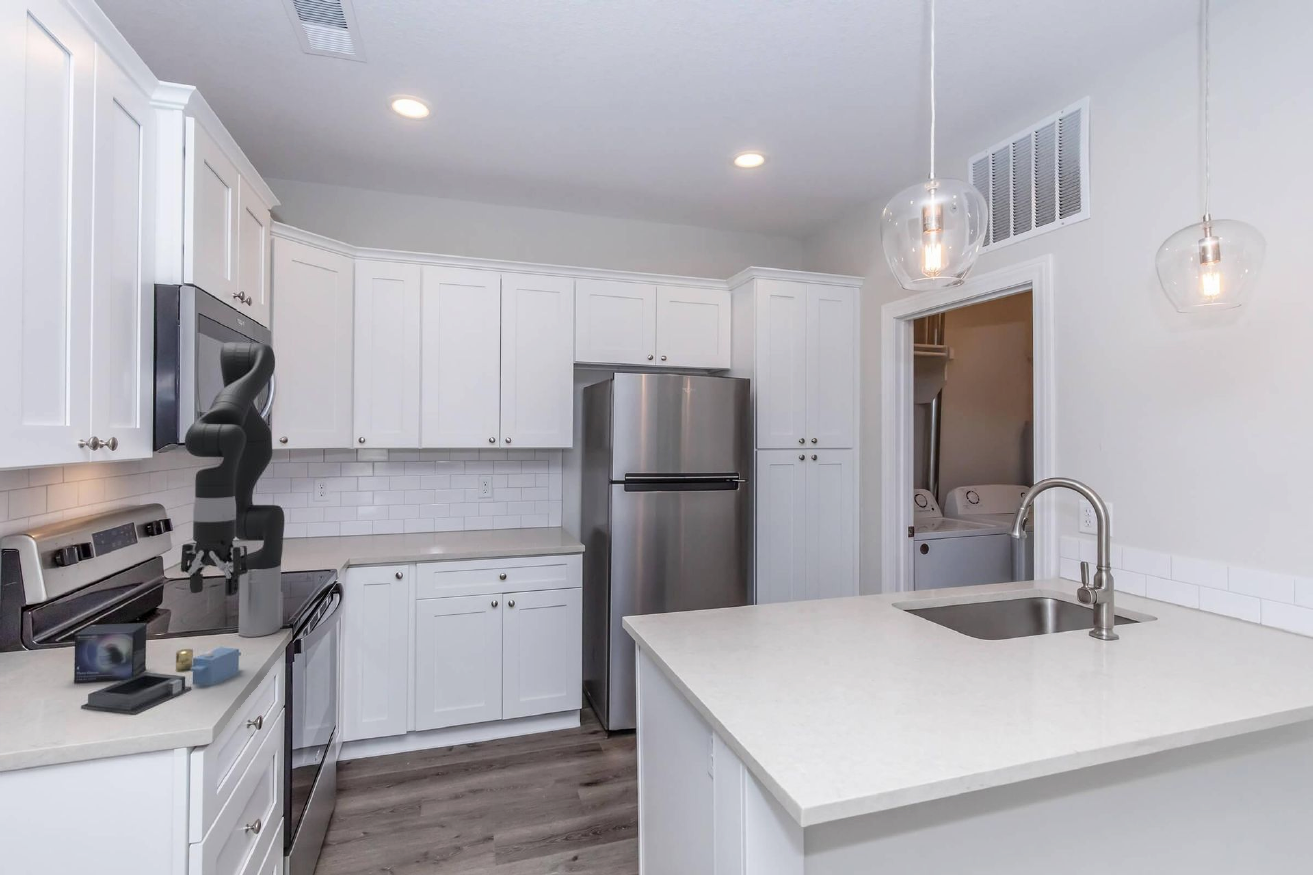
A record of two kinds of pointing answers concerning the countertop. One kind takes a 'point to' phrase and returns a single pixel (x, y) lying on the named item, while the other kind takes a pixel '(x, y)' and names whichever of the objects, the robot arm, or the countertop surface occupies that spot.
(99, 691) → the frame
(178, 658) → the cylinder
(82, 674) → the small box
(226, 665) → the servo
